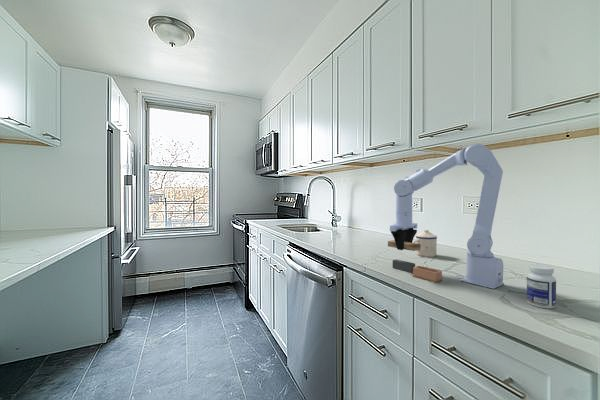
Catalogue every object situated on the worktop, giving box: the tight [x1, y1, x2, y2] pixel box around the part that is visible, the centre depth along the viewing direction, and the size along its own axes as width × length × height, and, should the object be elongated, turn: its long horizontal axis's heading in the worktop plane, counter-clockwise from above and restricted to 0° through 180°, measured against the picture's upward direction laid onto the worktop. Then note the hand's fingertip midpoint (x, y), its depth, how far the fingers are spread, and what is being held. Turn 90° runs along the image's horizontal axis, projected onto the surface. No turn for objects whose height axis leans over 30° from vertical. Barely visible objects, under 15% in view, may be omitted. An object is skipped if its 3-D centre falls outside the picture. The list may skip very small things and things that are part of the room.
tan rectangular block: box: [412, 265, 443, 284], centre depth 93 cm, size 8×4×3 cm, turn 36°
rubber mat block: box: [392, 259, 416, 274], centre depth 104 cm, size 8×2×3 cm, turn 36°
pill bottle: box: [526, 264, 557, 310], centre depth 71 cm, size 6×6×10 cm
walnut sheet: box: [387, 239, 421, 252], centre depth 104 cm, size 11×4×2 cm, turn 36°
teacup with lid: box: [412, 229, 438, 258], centre depth 128 cm, size 12×9×12 cm
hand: (403, 248), depth 104 cm, fingers closed on walnut sheet, 4 cm apart
